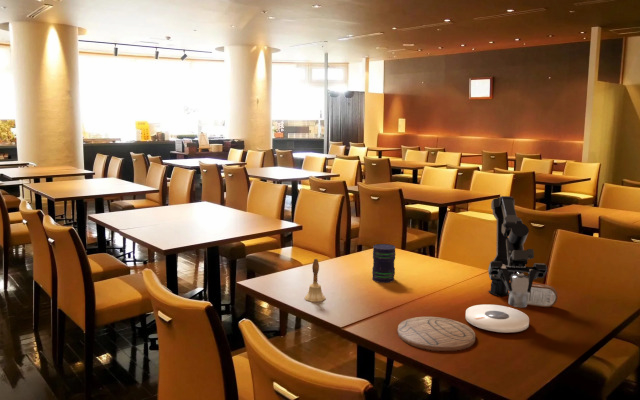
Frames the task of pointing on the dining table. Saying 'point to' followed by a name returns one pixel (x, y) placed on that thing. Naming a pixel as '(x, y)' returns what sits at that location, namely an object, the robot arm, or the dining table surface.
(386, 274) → the storage jar
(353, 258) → the dining table surface
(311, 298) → the hand bell
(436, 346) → the trivet
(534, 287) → the tin
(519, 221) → the robot arm
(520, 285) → the grey metal cylinder
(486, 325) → the turntable
